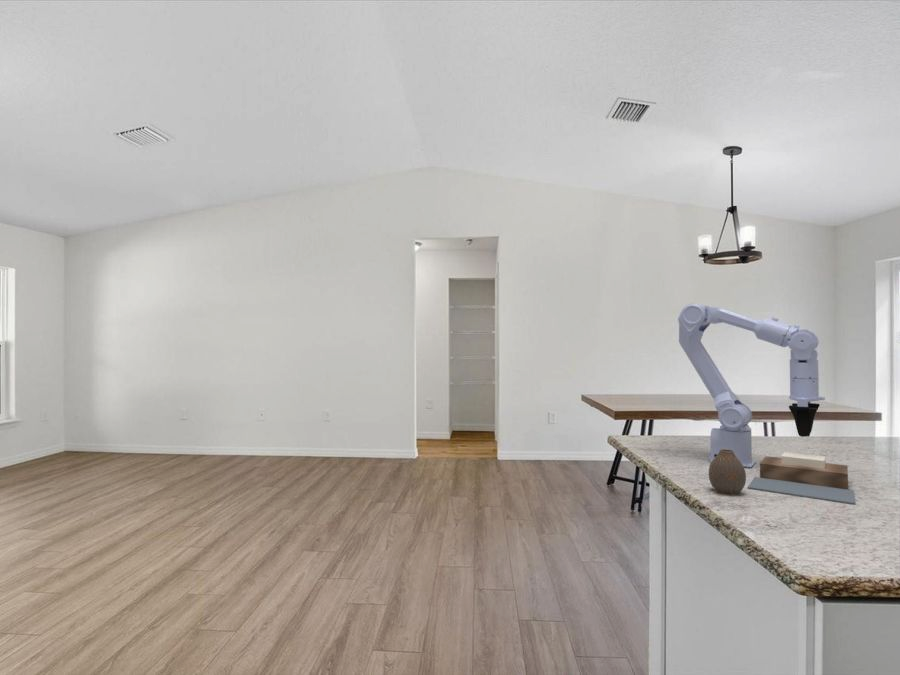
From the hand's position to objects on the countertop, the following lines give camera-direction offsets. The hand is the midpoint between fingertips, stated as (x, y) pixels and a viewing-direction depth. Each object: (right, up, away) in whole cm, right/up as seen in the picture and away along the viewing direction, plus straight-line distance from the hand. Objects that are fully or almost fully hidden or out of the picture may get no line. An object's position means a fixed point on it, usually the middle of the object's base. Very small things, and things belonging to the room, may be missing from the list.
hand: (805, 434), depth 121 cm
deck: (-5, -9, -7) cm, 13 cm away
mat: (-12, -9, -15) cm, 22 cm away
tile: (-5, -6, -6) cm, 10 cm away
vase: (-28, -9, -17) cm, 34 cm away
